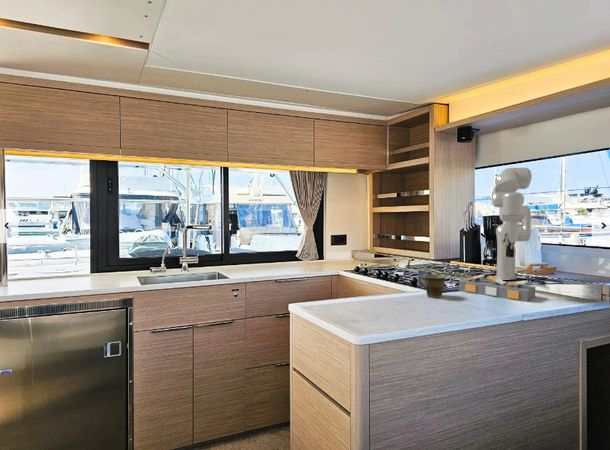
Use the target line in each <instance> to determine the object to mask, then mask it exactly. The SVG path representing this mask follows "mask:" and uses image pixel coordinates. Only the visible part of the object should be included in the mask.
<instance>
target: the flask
mask: <svg viewBox="0 0 610 450" xmlns="http://www.w3.org/2000/svg"><path fill="white" fill-rule="evenodd" d="M427 268H428V267H427V266H426V267H425V266H424V267H423V268H422V269H420V268H419V269H417V286H418V287H421V288H424V287H423V286H425V282H424V280H423V279H422V278H419V277H423V278H424V275H426V274H432V271H430V270H428V269H427ZM418 278H419V280H418ZM418 281H419V282H420V283H421V284H422V285H423V286H422V285H421V284H420V283H419V282H418Z"/></svg>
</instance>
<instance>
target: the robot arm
mask: <svg viewBox="0 0 610 450" xmlns="http://www.w3.org/2000/svg"><path fill="white" fill-rule="evenodd" d="M532 178H533V177H532V171H531V169H529V168H528V167H509V168H505V169H503V170H502V172H501V174H499V175H496V177H495V179H494V181H495V183H494V184H495V186H494V188H492V191H491V204H492V206H493V207H495V208H499V213H498V215H499V219H500V221H502V224H499V225H498V226H497V227H496V228H495V229H496V230H495V234H496V244H497V246H496V248H497V250H496V253H497V254H496V255H497V256H496V274H495V275H493V277H496V278H498V279H501V280H509V279H514V278H516V277H517V276H516V256H517V255H516V254H517V253H516V246H515V245H516V242H528V241H529V240H530V239H531V232H532V231H531V230H532V229H531V227H532V226H531V222H532V214H531V213H532V212H531V208H530V207H529V206H528V205H526V204H525V205H524V202H525V196H524V195H523V194H522V193H521V192H518V190H526V189H528V188H529V187H530V184H531V182H532ZM519 223H521V224H519Z"/></svg>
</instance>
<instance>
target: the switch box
mask: <svg viewBox="0 0 610 450" xmlns="http://www.w3.org/2000/svg"><path fill="white" fill-rule="evenodd" d="M508 283H509V282H506V284H504V285H502V284H499V283H497V282H494V281H492V280H489V279H482V278H478V279H471V280H467V278H464V279H462V280H460V281H458V284H459V285H458V286H459V287H458V291H459V292H464V293H471V294H477V295H483V296H489V297H495V298H502V299H507V300H508V299H509V300H514V301H518V300H519V301H520V302H525V301H526V302H530V301H531V300H532V299H534V298H536V286H532V285H525V284H520V285H510V286H508ZM519 301H518V302H519Z"/></svg>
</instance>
